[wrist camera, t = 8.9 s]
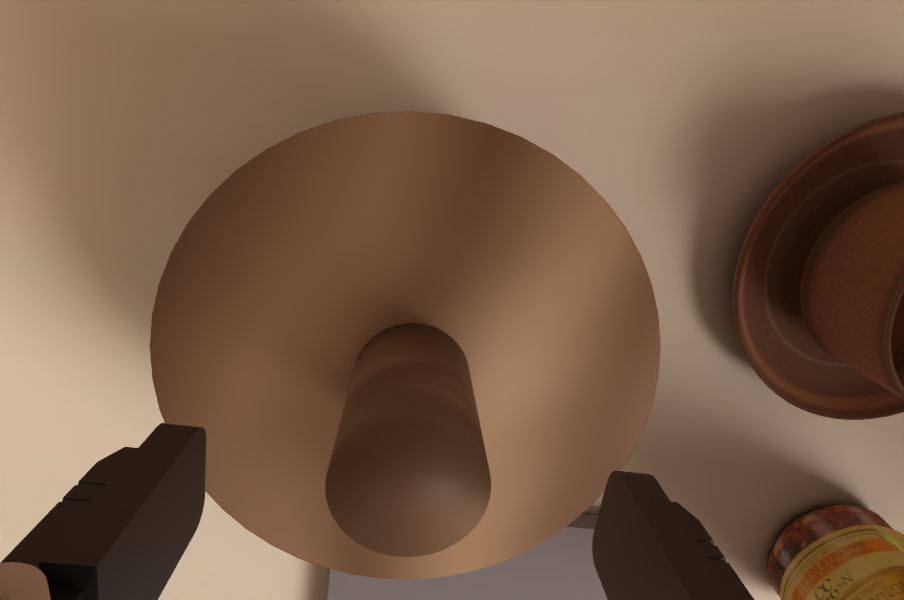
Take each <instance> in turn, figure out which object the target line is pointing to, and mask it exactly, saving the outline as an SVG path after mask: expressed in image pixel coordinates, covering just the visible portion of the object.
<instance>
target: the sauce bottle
mask: <svg viewBox="0 0 904 600" xmlns="http://www.w3.org/2000/svg"><path fill="white" fill-rule="evenodd" d="M767 567H768V573H769V576H770V578H771V581H772V584H773V587H774V589H775V590H776V592H777V594H778V595H779V596H780V598H781V600H904V535H903V534H902V533H900V532H898V531H895V530H893V529H892V528H891V527H890V526H889V525H888V524H887V523H886V522H885V521H884V520H883V519H882V518H881V517H880V516H879V515H878V514H876V513H874V512H872V511H870V510H868V509H866V508H863V507H860V506H855V505H852V504H845V505H843V504H839V505H831V506H827V507H824V508H821V509H817V510H814V511H811V512H809V513H806V514H805V515H803V516H802V517H800V518H798V519H795V520H794V521H793V523H792V524H790V525H788V526H786V527H785V529H784V531H783V532H782V533H781V534H780V536H779V537H778V539H777V541H776V543H775V544H774V546H773V549H772V551H771V555H770V556H769V557H768V563H767Z"/></svg>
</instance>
